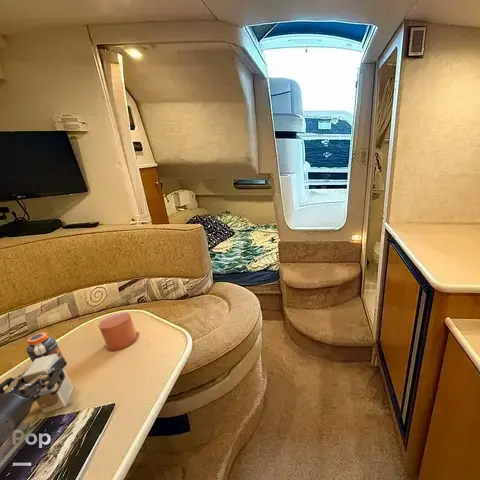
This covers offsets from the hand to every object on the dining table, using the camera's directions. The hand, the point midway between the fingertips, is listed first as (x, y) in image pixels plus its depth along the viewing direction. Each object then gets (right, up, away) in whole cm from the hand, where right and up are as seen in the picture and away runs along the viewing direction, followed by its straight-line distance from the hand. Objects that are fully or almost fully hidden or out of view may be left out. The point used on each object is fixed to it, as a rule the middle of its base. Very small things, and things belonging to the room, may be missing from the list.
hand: (50, 363), depth 68 cm
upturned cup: (+2, -3, +21) cm, 22 cm away
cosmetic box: (+1, -10, +1) cm, 11 cm away
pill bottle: (-12, -7, +12) cm, 19 cm away
